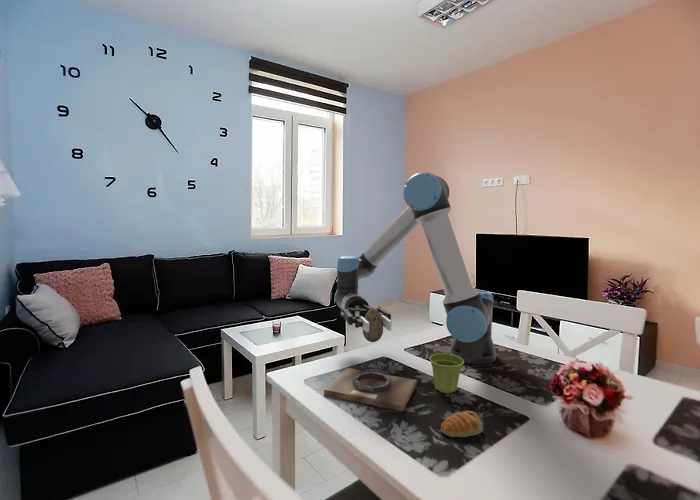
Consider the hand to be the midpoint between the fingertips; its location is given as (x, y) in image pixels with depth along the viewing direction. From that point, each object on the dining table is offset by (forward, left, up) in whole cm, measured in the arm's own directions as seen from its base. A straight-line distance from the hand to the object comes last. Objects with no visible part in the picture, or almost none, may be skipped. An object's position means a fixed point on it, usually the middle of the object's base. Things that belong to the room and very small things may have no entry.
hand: (379, 326), depth 107 cm
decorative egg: (+3, -4, -6) cm, 8 cm away
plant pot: (-18, -8, -18) cm, 27 cm away
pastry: (-24, +12, -18) cm, 33 cm away
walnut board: (+1, +1, -18) cm, 18 cm away
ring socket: (+1, +1, -17) cm, 17 cm away
